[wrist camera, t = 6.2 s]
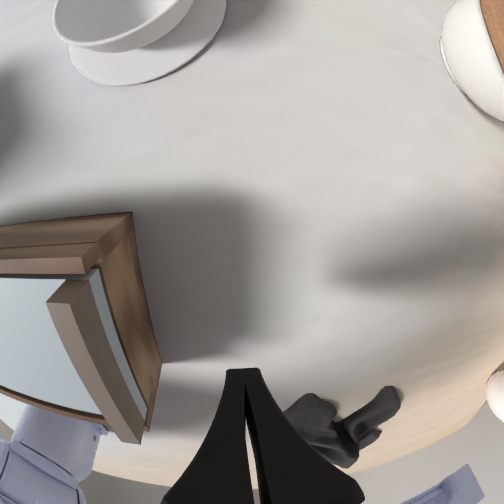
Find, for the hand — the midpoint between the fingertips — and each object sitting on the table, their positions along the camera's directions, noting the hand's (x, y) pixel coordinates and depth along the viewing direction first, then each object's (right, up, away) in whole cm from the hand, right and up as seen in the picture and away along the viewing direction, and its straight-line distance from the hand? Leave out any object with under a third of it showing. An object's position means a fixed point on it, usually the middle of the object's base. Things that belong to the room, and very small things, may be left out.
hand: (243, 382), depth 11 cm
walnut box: (-15, +2, +5) cm, 16 cm away
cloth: (+10, -17, +17) cm, 26 cm away
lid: (-14, 0, 0) cm, 14 cm away
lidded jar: (+17, +21, +1) cm, 27 cm away
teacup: (-6, +20, -1) cm, 21 cm away
